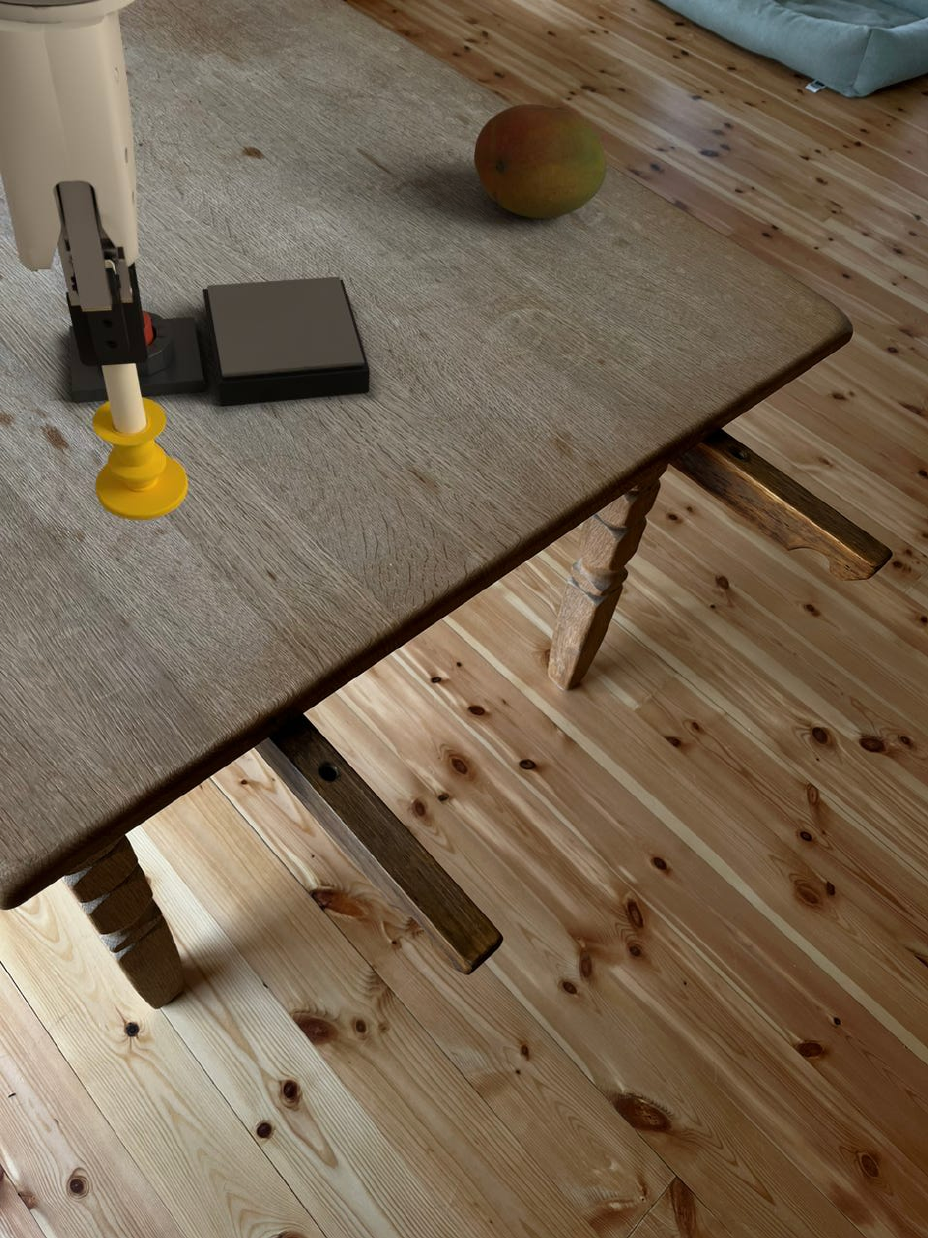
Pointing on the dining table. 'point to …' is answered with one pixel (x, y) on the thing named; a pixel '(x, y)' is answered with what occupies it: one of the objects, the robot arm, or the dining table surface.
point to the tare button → (148, 328)
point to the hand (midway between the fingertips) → (114, 343)
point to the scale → (284, 341)
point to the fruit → (539, 161)
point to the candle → (135, 450)
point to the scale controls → (149, 363)
